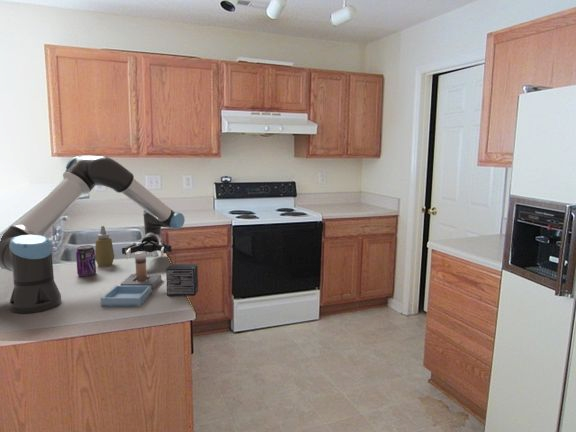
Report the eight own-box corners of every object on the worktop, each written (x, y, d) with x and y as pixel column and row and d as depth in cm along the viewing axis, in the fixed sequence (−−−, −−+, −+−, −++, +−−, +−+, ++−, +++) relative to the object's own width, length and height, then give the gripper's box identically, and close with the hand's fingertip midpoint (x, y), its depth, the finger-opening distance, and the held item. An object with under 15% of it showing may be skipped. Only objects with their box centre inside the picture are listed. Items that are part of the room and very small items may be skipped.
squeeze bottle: (91, 266, 189) (88, 227, 186) (104, 262, 197) (102, 224, 194) (106, 268, 186) (103, 228, 183) (118, 263, 194) (116, 225, 191)
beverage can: (87, 278, 173) (85, 249, 171) (73, 276, 175) (71, 248, 173) (100, 273, 180) (98, 245, 178) (86, 271, 182) (84, 244, 180)
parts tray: (101, 306, 143) (100, 298, 143) (115, 293, 156) (115, 285, 155) (140, 306, 143) (139, 298, 143) (151, 293, 156) (151, 285, 156)
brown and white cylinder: (134, 286, 163) (132, 254, 161) (138, 283, 167) (136, 251, 165) (145, 286, 163) (144, 254, 161) (148, 283, 168) (147, 251, 165)
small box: (198, 290, 160) (198, 263, 159) (195, 296, 154) (195, 268, 152) (170, 290, 160) (169, 263, 158) (166, 296, 154) (165, 268, 152)
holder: (120, 290, 159) (120, 284, 159) (131, 280, 171) (131, 274, 171) (152, 290, 160) (152, 284, 159) (161, 280, 171) (161, 274, 171)
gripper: (179, 249, 197) (176, 261, 177) (122, 251, 192) (113, 265, 172) (178, 233, 196) (175, 244, 175) (121, 235, 191) (111, 247, 170)
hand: (144, 254), depth 173 cm, fingers open, 13 cm apart
